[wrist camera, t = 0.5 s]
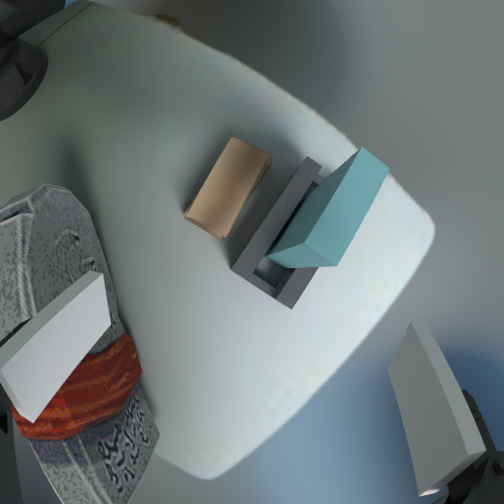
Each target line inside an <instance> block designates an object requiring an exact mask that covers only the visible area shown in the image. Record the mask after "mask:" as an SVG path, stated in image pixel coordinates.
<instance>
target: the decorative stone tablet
mask: <svg viewBox="0 0 504 504" xmlns="http://www.w3.org/2000/svg"><path fill="white" fill-rule="evenodd" d="M90 270H91V271H95V272H99V273H103V276H104V284H105V291H106V297H107V303H108V309H109V315H110V321H111V325H110V326H109V327H108V329H107V330H106V331H105V332H104V333H103V334H102V336H101V337H100V338H99V339H98V340H97V342H96V343H95V344H94V345H93V347H92V348H91V349H90V350H89V351H88V353H87V354H86V355H85V356H84V358H83V359H82V360H81V361H80V363H79V364H78V365H77V366H76V368H75V369H74V370H73V371H72V373H71V374H70V375H69V376H68V378H67V379H66V380H65V382H64V383H63V384H62V385H61V387H60V388H59V389H58V391H57V392H56V393H55V395H54V396H53V397H52V399H51V400H50V401H49V403H48V404H47V405H46V407H45V408H44V409H43V411H42V412H41V413H40V415H39V416H38V417H37V419H36V420H35V422H34V423H32V422H31V421H29V420H27V419H26V418H24V417H23V416H21V415H20V414H19V413H18V411H17V410H16V408H15V406H14V405H12V406H11V408H10V409H11V411H12V414H13V417H14V420H15V422H16V424H17V427H18V429H19V431H20V433H21V435H22V436H23V437H25V438H28V440H29V442H30V444H31V446H32V448H33V450H34V452H35V455H36V457H37V459H38V461H39V463H40V465H41V467H42V469H43V471H44V473H45V474H46V476H47V478H48V480H49V482H50V484H51V485H52V487H53V489H54V490H55V492H56V494H57V495H58V497H59V498H60V500H61V502H62V504H130V503H131V501H132V499H133V497H134V495H135V494H136V492H137V490H138V488H139V486H140V484H141V482H142V481H143V479H144V477H145V474H146V471H147V469H148V466H149V463H150V461H151V458H152V455H153V453H154V450H155V448H156V445H157V442H158V440H159V436H160V433H159V431H158V429H157V426H156V424H155V421H154V419H153V417H152V414H151V412H150V409H149V407H148V404H147V401H146V399H145V396H144V394H143V391H142V388H141V385H140V383H139V380H138V379H139V377H140V375H141V374H142V369H141V366H140V363H139V360H138V356H137V353H136V350H135V347H134V343H133V340H132V338H131V337H130V336H129V335H128V334H127V333H126V332H125V329H124V327H123V325H122V323H121V320H120V318H119V316H118V308H117V299H116V295H115V291H114V286H113V282H112V279H111V276H110V273H109V270H108V266H107V263H106V260H105V257H104V253H103V250H102V247H101V244H100V241H99V239H98V236H97V233H96V231H95V228H94V225H93V223H92V220H91V217H90V214H89V212H88V211H87V210H86V208H85V207H84V206H83V205H82V204H81V203H80V202H79V200H78V199H77V198H76V197H75V196H74V195H73V193H72V192H71V191H70V190H68V189H67V188H65V187H61V186H56V185H51V184H47V183H44V184H42V185H40V186H37V187H35V188H33V189H31V190H29V191H27V192H25V193H23V194H20V195H18V196H16V197H14V198H12V199H10V200H9V201H8V202H7V203H6V204H4V205H3V206H2V207H1V208H0V341H1V340H2V339H3V338H6V336H7V335H8V334H9V333H10V332H12V330H13V329H14V328H15V327H16V326H18V325H19V324H20V323H22V322H24V321H26V320H28V319H30V318H33V317H34V316H35V315H37V314H38V313H39V312H40V311H41V310H42V309H43V308H45V307H46V306H47V305H48V304H49V303H50V302H52V301H53V300H54V299H55V298H56V297H58V296H59V295H60V294H61V293H62V292H64V291H65V290H66V289H67V288H68V287H70V286H71V285H72V284H73V283H75V282H76V281H77V280H78V279H80V278H81V277H82V276H83V275H85V274H86V273H87V272H88V271H90Z"/></svg>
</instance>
